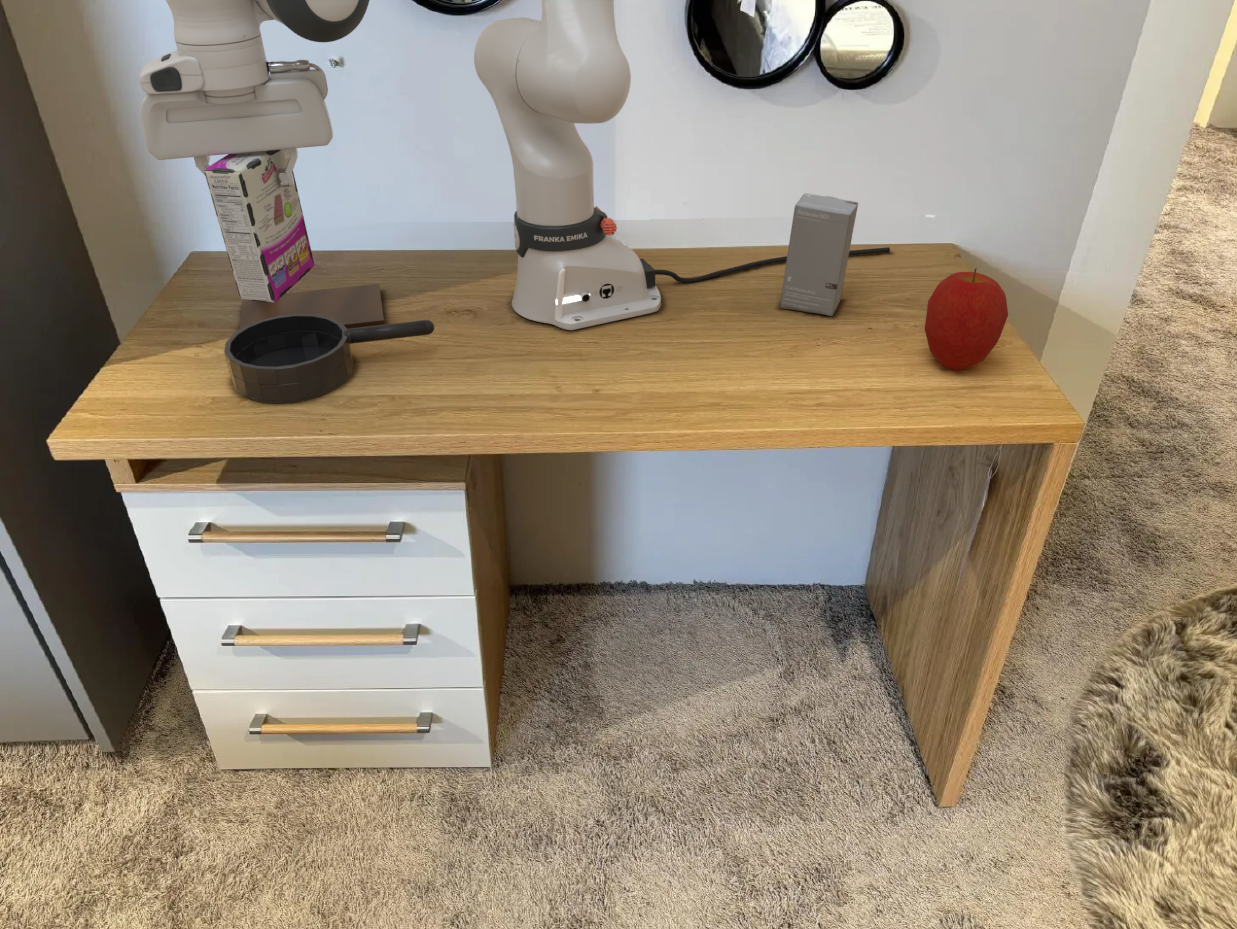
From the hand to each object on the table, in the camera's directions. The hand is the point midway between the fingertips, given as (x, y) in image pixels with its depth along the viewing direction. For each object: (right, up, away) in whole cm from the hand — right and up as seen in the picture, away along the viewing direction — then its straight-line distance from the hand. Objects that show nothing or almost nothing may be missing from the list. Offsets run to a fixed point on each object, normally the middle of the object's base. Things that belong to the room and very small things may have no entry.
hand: (254, 188), depth 113 cm
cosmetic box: (+72, -9, +32) cm, 79 cm away
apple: (+89, -19, +16) cm, 92 cm away
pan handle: (+12, -16, +15) cm, 25 cm away
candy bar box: (0, -10, +7) cm, 12 cm away
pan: (0, -21, +14) cm, 25 cm away
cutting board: (-2, -11, +28) cm, 30 cm away
